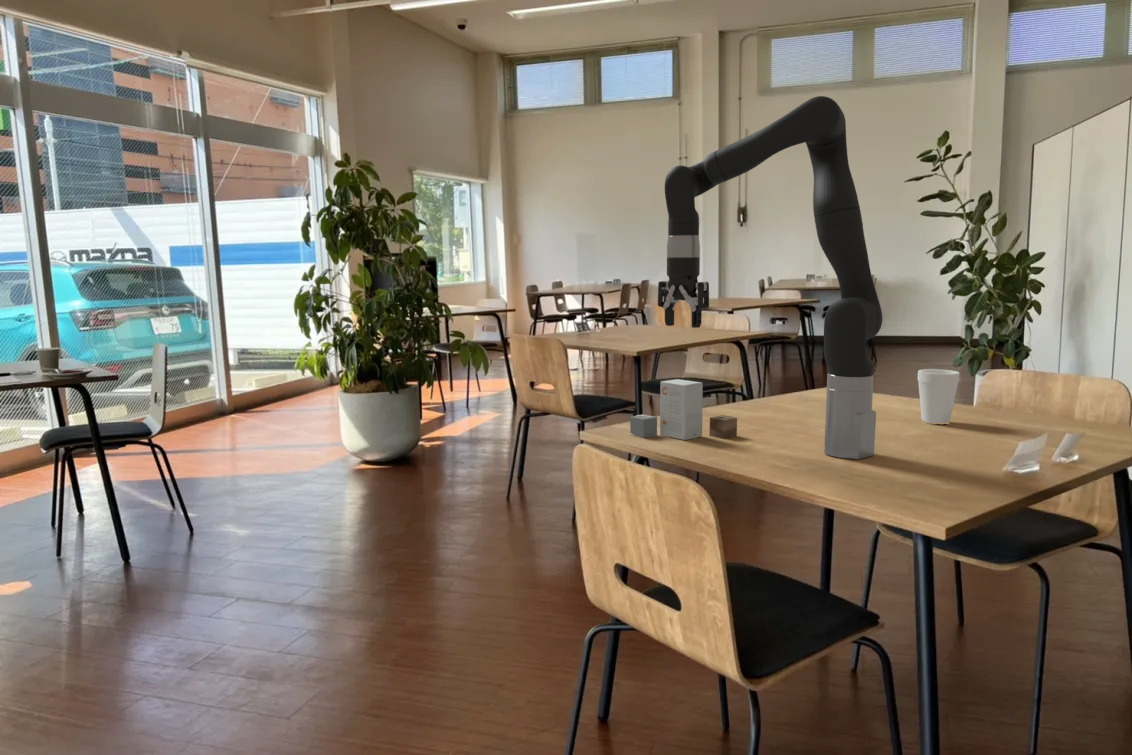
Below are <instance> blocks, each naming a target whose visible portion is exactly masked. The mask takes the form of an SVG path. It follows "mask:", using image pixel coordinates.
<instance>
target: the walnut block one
mask: <svg viewBox="0 0 1132 755" xmlns="http://www.w3.org/2000/svg"><path fill="white" fill-rule="evenodd" d="M709 436H710V437H714V438H718V439H719V438H720V439H723V440H726V439H731V438H735V437H737V436H738V418H737V417H736V416H735V417H734V416H730V415H723V414H721V415H716V416H711V417H709Z"/></svg>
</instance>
